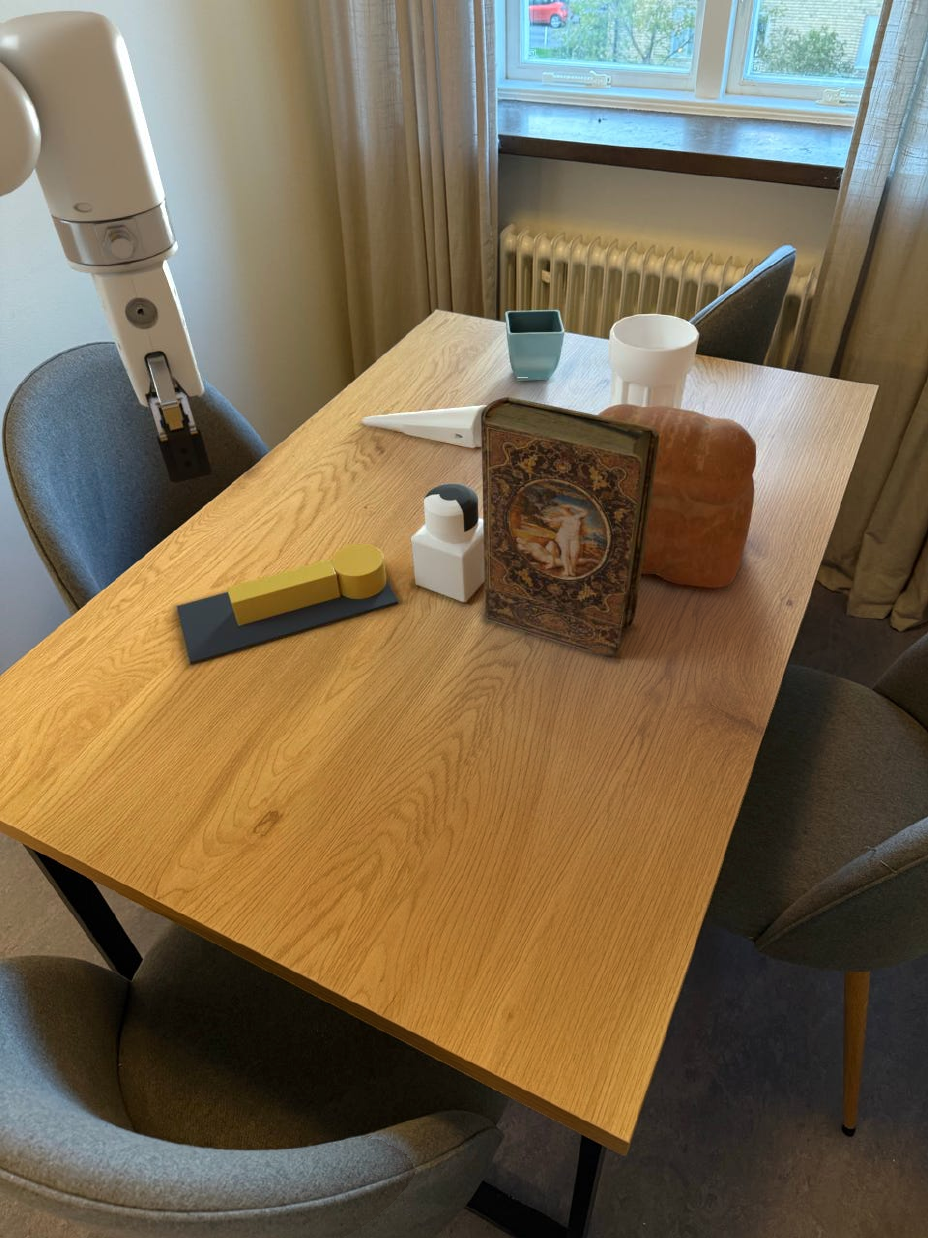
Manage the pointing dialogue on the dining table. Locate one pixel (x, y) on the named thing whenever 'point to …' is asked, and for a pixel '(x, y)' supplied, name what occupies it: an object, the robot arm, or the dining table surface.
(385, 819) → the dining table surface
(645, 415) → the bread
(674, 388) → the cup
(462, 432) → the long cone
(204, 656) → the mat
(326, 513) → the dining table surface
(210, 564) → the dining table surface
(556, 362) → the flower pot
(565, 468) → the book
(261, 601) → the yellow disc-ended bar
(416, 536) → the medicine bottle
